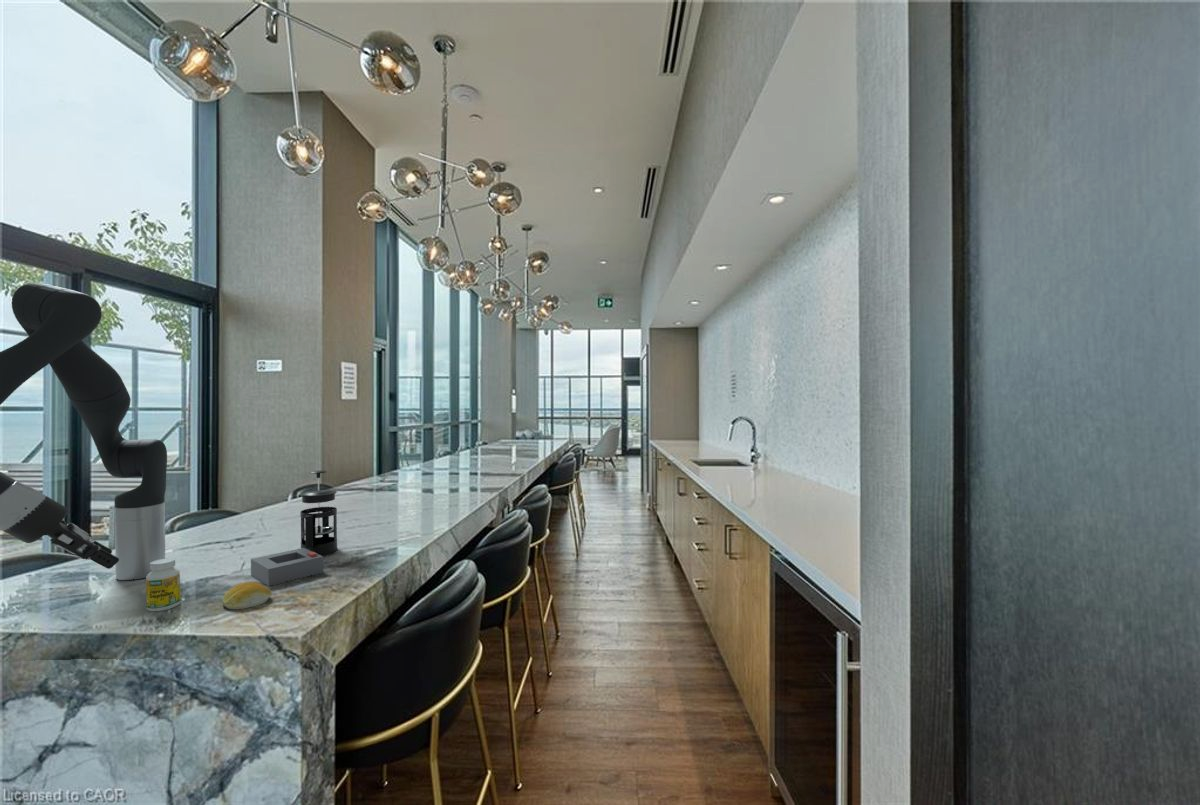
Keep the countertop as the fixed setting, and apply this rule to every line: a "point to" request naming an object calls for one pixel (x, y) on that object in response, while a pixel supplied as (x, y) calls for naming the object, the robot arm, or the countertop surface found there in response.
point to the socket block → (286, 566)
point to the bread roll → (246, 595)
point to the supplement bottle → (163, 585)
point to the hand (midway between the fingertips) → (111, 559)
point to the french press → (308, 529)
